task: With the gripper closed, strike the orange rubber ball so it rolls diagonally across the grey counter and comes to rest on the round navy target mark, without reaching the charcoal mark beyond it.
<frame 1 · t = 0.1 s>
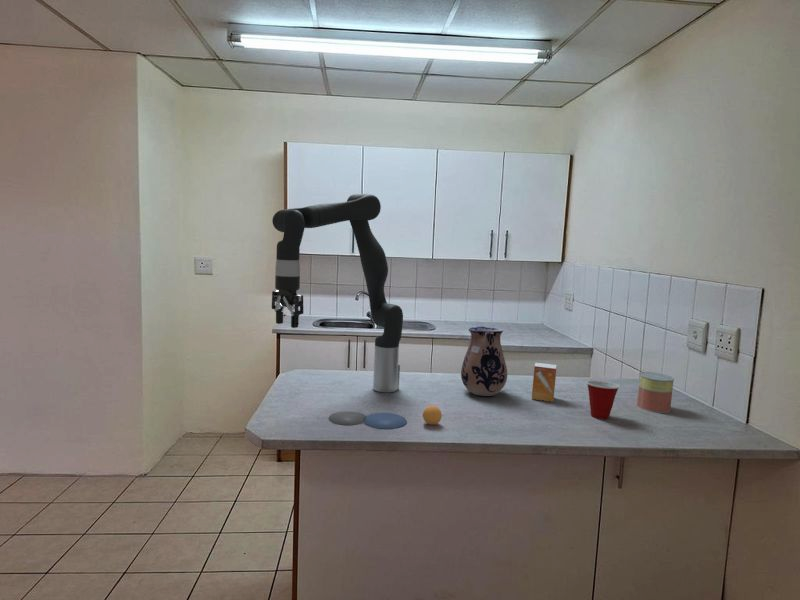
hand: (286, 325, 163), 29 cm above the counter, tool pointing down, fingers open, 8 cm apart
target mark: (384, 420, 165), on the counter
ball: (432, 415, 164), on the counter
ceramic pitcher: (481, 392, 202), on the counter
small box: (542, 399, 196), on the counter
canned food: (653, 408, 191), on the counter
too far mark: (347, 418, 166), on the counter
plastic cup: (599, 416, 179), on the counter
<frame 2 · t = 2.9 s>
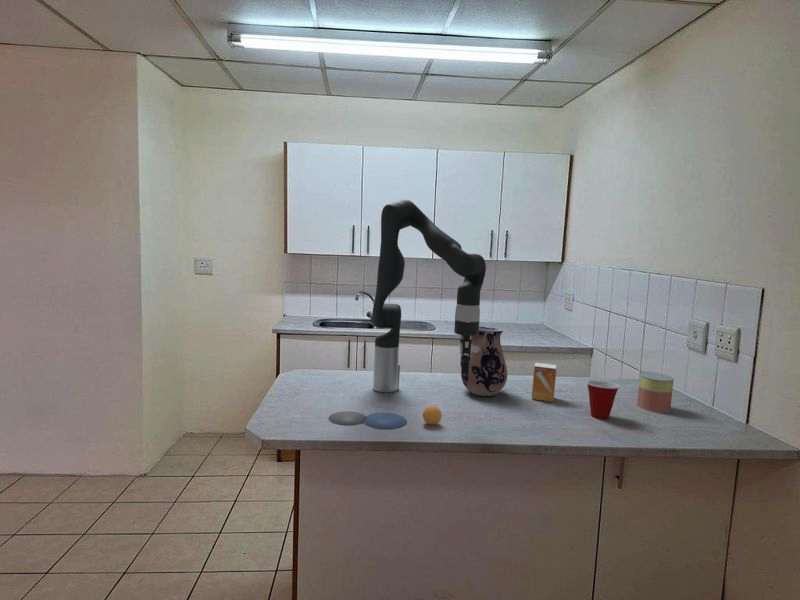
hand: (464, 370, 161), 18 cm above the counter, tool pointing down, fingers open, 8 cm apart
nothing on the counter moved.
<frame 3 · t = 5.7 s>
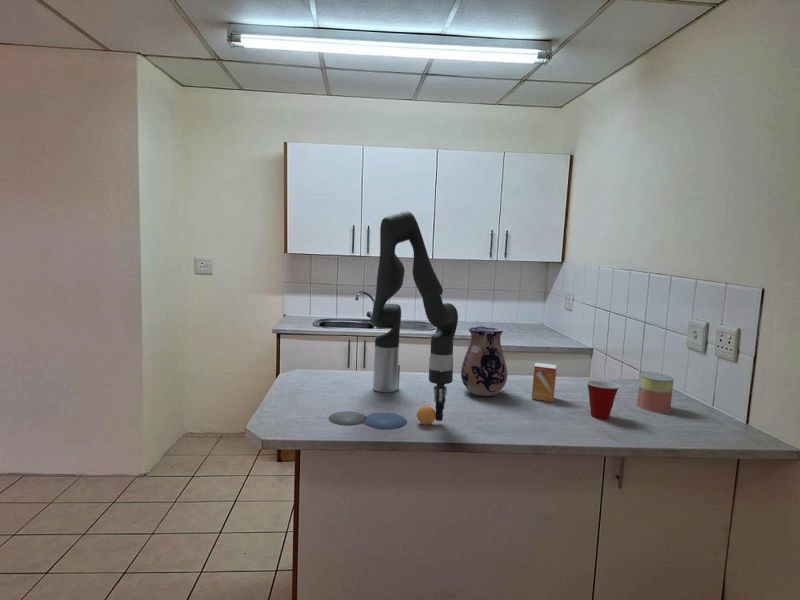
hand: (439, 419, 164), 1 cm above the counter, tool pointing down, fingers closed
ball: (426, 415, 164), on the counter, touching gripper
everything else where it was.
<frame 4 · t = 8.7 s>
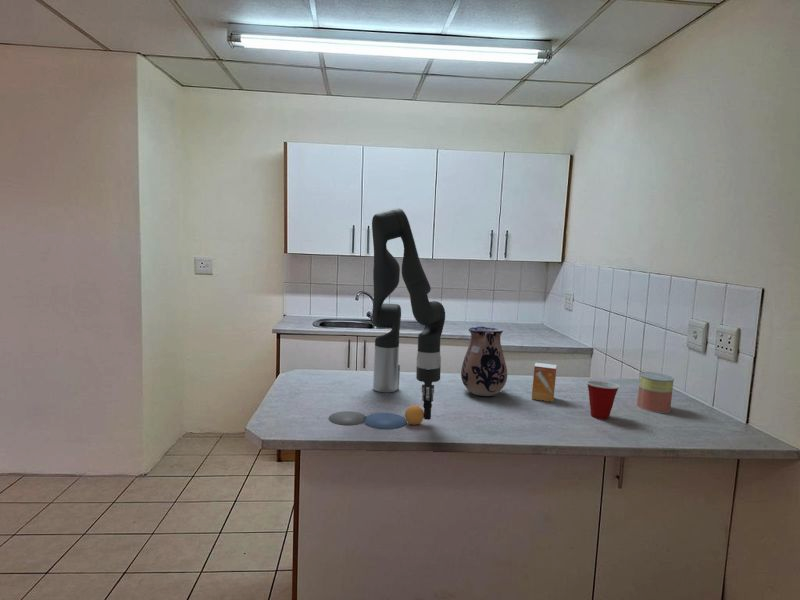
hand: (427, 418, 163), 2 cm above the counter, tool pointing down, fingers closed
ball: (414, 415, 163), on the counter, touching gripper
everything else where it was.
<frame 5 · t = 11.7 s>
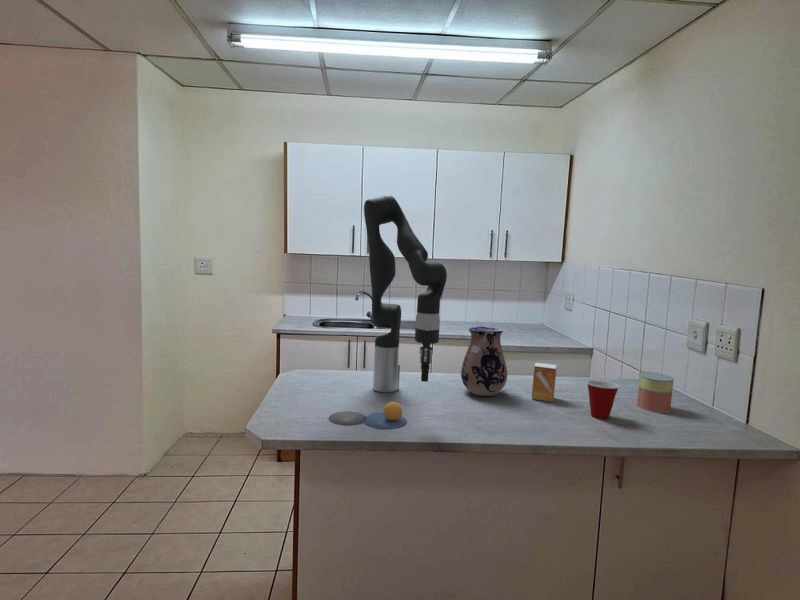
hand: (424, 380, 163), 14 cm above the counter, tool pointing down, fingers closed
ball: (393, 411, 166), on the counter
everything else where it was.
at the end: ball 2.6 cm from the target mark (horizontally); ball at rest at the end (0.0 cm/s); ball moved 12.6 cm from its start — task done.
